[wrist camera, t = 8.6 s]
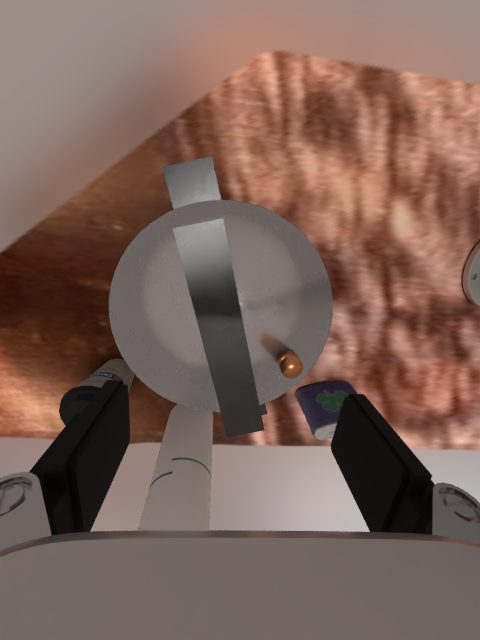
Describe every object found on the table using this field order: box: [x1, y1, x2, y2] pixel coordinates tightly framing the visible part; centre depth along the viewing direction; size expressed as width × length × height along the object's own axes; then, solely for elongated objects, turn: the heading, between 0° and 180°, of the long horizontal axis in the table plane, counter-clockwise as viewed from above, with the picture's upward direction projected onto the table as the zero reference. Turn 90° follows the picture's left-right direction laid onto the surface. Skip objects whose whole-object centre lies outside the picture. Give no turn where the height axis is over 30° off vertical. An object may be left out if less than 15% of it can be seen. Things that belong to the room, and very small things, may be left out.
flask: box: [296, 380, 357, 440], centre depth 37 cm, size 9×3×11 cm, turn 95°
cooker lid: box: [109, 200, 333, 438], centre depth 20 cm, size 19×19×6 cm
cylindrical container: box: [138, 404, 213, 531], centre depth 30 cm, size 7×7×25 cm
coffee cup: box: [59, 359, 135, 426], centre depth 33 cm, size 7×7×10 cm
